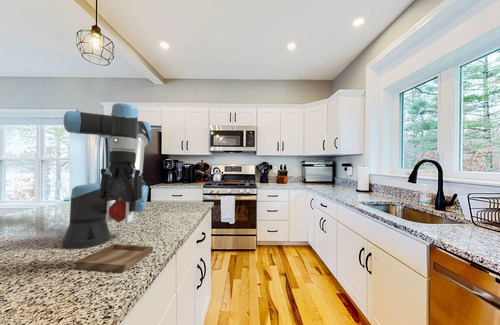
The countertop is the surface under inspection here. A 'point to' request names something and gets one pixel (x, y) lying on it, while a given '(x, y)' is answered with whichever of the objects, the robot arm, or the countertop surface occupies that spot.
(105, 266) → the tray
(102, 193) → the robot arm
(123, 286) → the countertop surface
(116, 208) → the red fruit
